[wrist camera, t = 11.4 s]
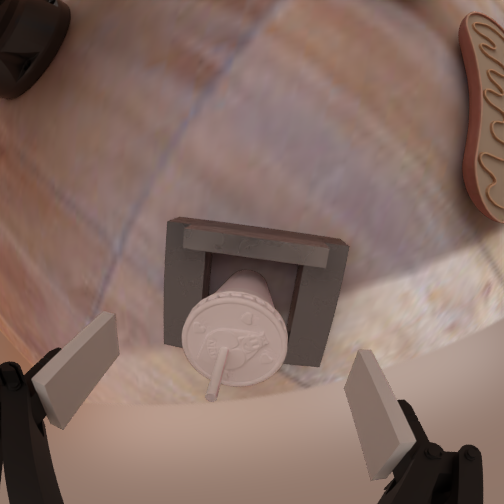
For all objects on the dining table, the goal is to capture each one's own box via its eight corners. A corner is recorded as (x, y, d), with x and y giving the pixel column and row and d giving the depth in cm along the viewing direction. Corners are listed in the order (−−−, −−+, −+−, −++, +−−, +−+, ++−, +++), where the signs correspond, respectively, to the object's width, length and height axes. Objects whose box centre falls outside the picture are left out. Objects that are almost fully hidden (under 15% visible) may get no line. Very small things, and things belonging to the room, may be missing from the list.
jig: (173, 328, 27) (156, 355, 22) (179, 216, 24) (157, 225, 19) (315, 349, 26) (322, 380, 22) (340, 239, 24) (356, 252, 19)
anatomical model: (439, 15, 17) (459, -3, 12) (499, 51, 17) (521, 41, 12) (439, 205, 23) (469, 211, 18) (500, 226, 22) (529, 234, 17)
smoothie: (200, 269, 25) (131, 354, 12) (268, 243, 24) (263, 317, 11) (228, 329, 26) (194, 443, 13) (293, 308, 26) (309, 422, 12)
